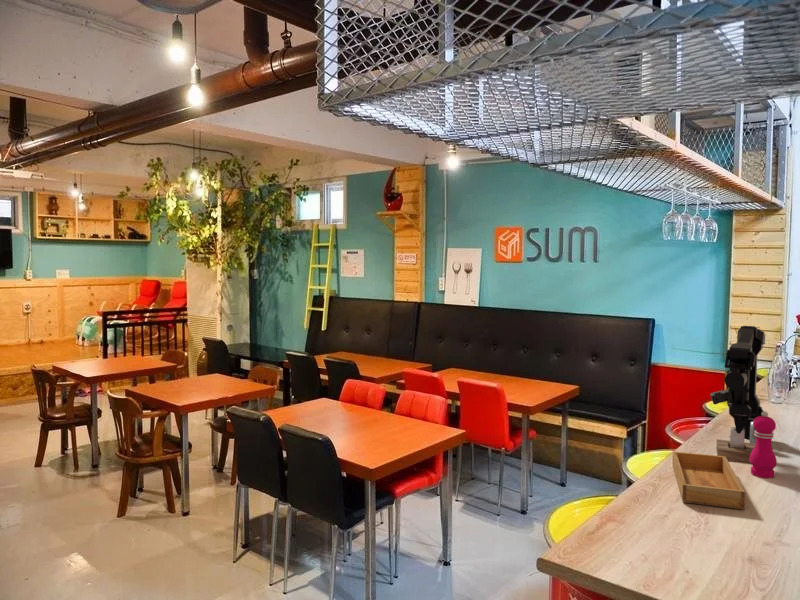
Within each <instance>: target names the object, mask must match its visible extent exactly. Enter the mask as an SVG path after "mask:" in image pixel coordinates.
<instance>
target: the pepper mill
mask: <svg viewBox="0 0 800 600" xmlns="http://www.w3.org/2000/svg"><path fill="white" fill-rule="evenodd" d="M761 415H762V416H758V417H756V418H755V419H754V421H753V426H754V428H755V429H756V430H755V434H754V435H755V436H756V444H755V447H754V449H753V450H752V452H751V454H750V459H749V461H750V462H749V463H750V464H751V467H750V474H751V475H753V476H755V477H757V478H761V479H773V478H775V474H776V473H775V470H774V469H775V468H776V467H777V465H778V464H777V463H778V462H777V457H776V454H775V452H774V450H773V445H772V439H773V438H774V431H775V430H776V429H777V428H776V427H777V425H776V421H775V420H774V419H773V417H770V416H769V413H768V411H765V410H763V412H762V413H761Z"/></svg>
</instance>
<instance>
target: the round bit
mask: <svg viewBox="0 0 800 600" xmlns="http://www.w3.org/2000/svg"><path fill="white" fill-rule="evenodd" d="M755 430H756V429H755V428H754V426H753V421H750V438H749V443H754V444H756V436H755V435H754V434H755Z"/></svg>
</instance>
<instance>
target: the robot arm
mask: <svg viewBox="0 0 800 600" xmlns="http://www.w3.org/2000/svg"><path fill="white" fill-rule="evenodd" d="M736 334H737V336H736V343H732V344H730V347H729V349H727V350H726V354H725V355H726V356H725V361H724V368H725V369H729V372H727V374H725V377H724V380H723V381H724V383H725V385H726V387H727V389H723V390H718V391H714V392H711V393H710V394H709V395H710V398H711V401H712V403H713V405H719V404H721V403H725V402H726V404H727V406H728V414H729V415H730V416H731V417H732V418H733V421H734V422H733V423H734V426H735V427H736V432H737V433H741V431H742V430H743V428H744V431H745V438H744V439H750V421H754V419H755V418H756V417H758V416H762V415H761V413H762V412H763V411H764V410H763V409H764V408H763V407H762V406H761V400H760V399H759V397H758V396H757V376H758V375H757V374H758V355H759V354H760V353H761V351H762V350H763V347H764V346H765V344H766V334H765V332H764V331H763V330H761V329H758V327H757V326H756V325H742V326H740V328H739V329H738V330H737V333H736Z"/></svg>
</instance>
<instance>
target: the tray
mask: <svg viewBox="0 0 800 600" xmlns="http://www.w3.org/2000/svg"><path fill="white" fill-rule="evenodd" d="M672 469H673V474H674V476H675V478H676V484H677V487H678V489H679V494H680V497H681V501H682V503H688V504H696V505H703V506H712V507H713V506H714V507H720V508H721V507H723V508H730V509H737V510H738V509H740V510H745V504H746V502H745V499H746V492H745V490H744V487H743V486H742V484H741V482H740V480H739V479H738V477H737V475H736V473H735V471H734V469H733V468H732V466H731V464H730V462H729V459H726V457H725V456H717V454H716V455H715V454H714V455H713V454H706V453H705V454H704V453H692V452H682V451H672Z"/></svg>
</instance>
